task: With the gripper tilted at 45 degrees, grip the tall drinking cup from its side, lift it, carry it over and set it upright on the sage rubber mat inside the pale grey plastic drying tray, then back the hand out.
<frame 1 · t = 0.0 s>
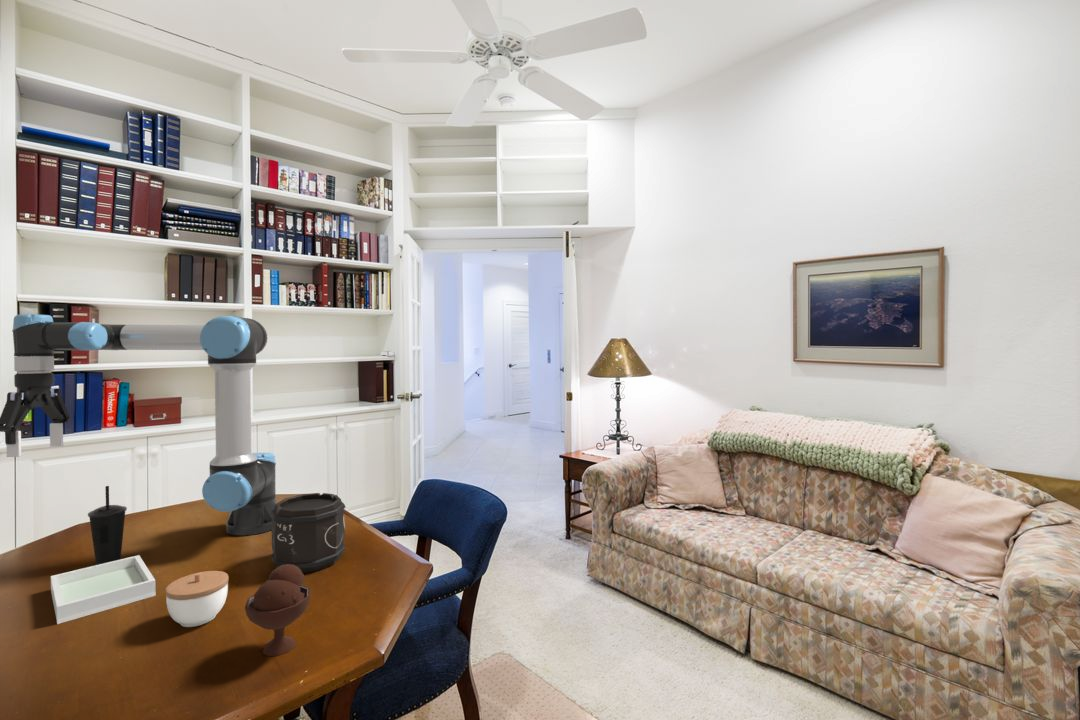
hand: (36, 451, 134), 28 cm above the table, tool pointing down, fingers open, 13 cm apart
labeled octagonal canister: (309, 560, 132), on the table
lidded jar: (198, 620, 103), on the table
ice cream bowl: (279, 648, 93), on the table
drying tray: (102, 593, 114), on the table
drinking cup: (108, 563, 130), on the table
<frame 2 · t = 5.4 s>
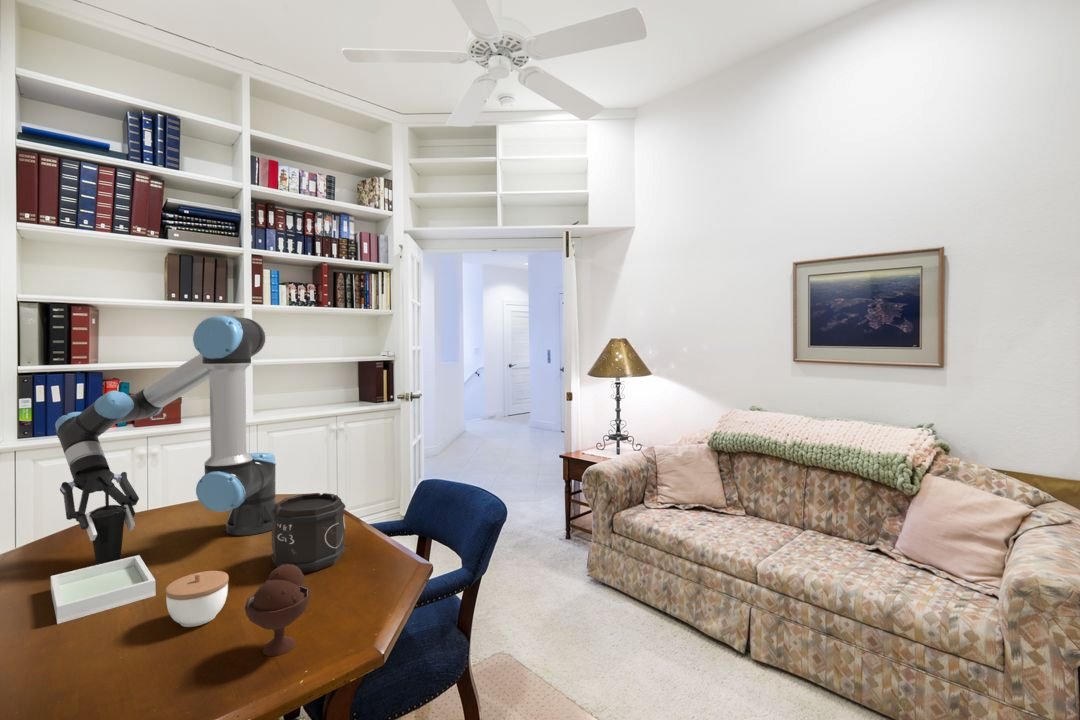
hand: (113, 532, 128), 9 cm above the table, tool tilted 45°, fingers closed on drinking cup, 7 cm apart
drinking cup: (108, 563, 130), on the table, touching gripper
everything else where it was.
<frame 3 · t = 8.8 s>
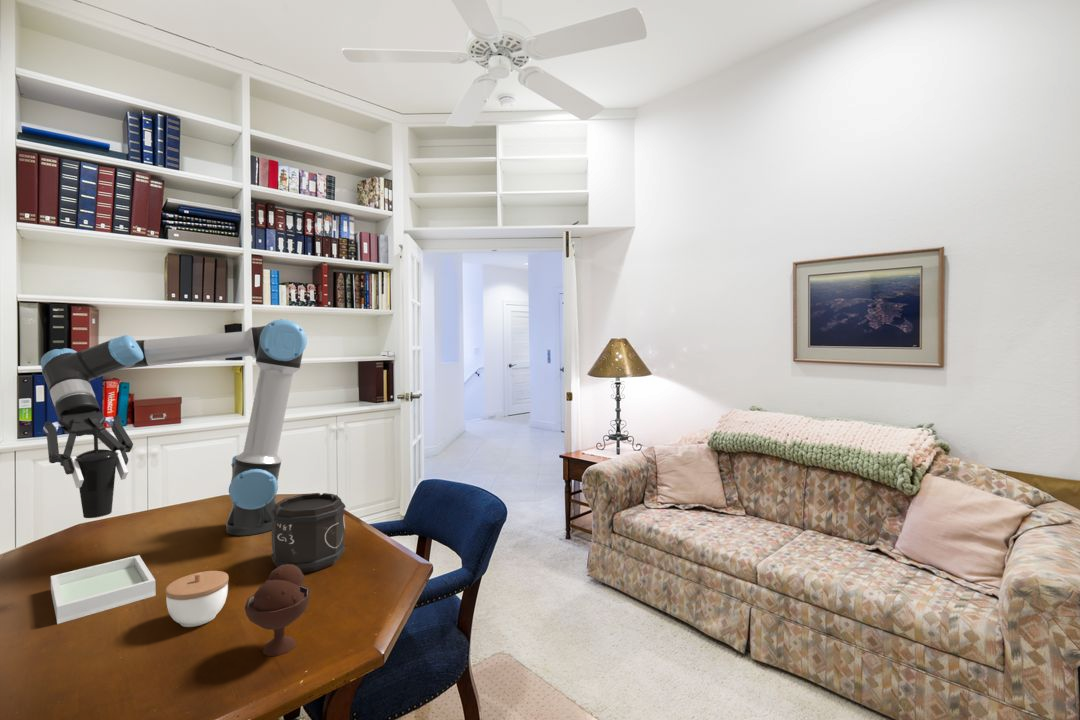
hand: (103, 479, 112), 26 cm above the table, tool tilted 45°, fingers closed on drinking cup, 7 cm apart
drinking cup: (98, 515, 114), point 18 cm above the table, touching gripper
everything else where it was.
when the fingers open (11 cm above the table, at t = 12.2 s): drinking cup drops 2 cm, resting on drying tray.
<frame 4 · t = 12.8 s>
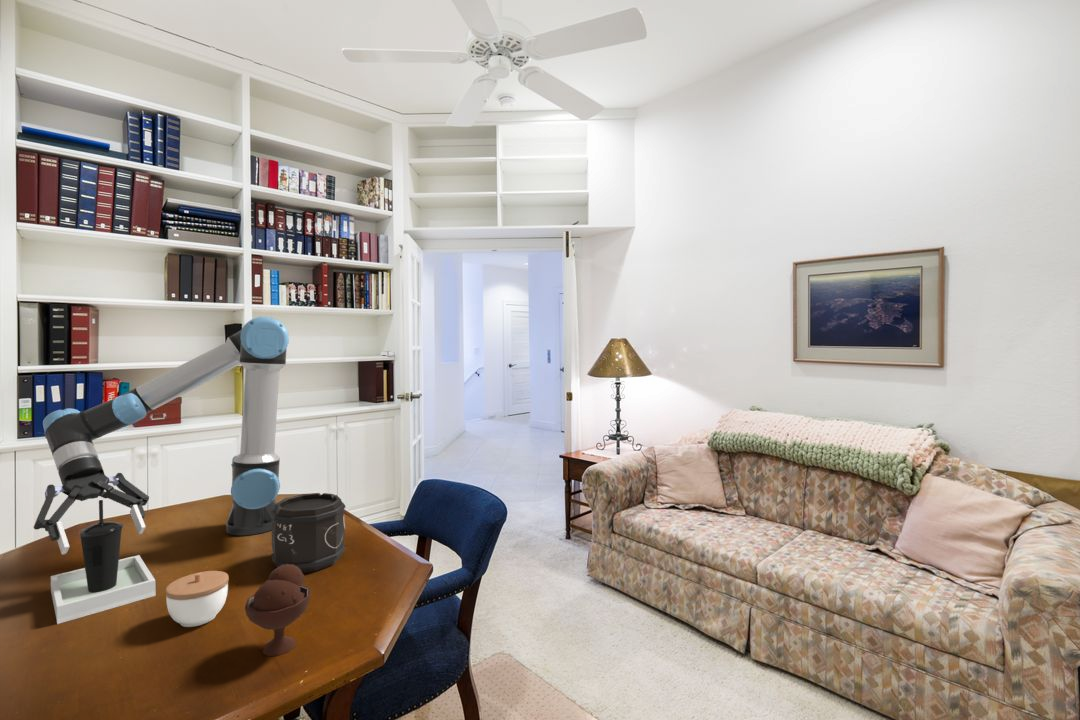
hand: (105, 540, 112), 13 cm above the table, tool tilted 45°, fingers open, 13 cm apart
drinking cup: (102, 588, 114), point 1 cm above the table, touching drying tray
everything else where it was.
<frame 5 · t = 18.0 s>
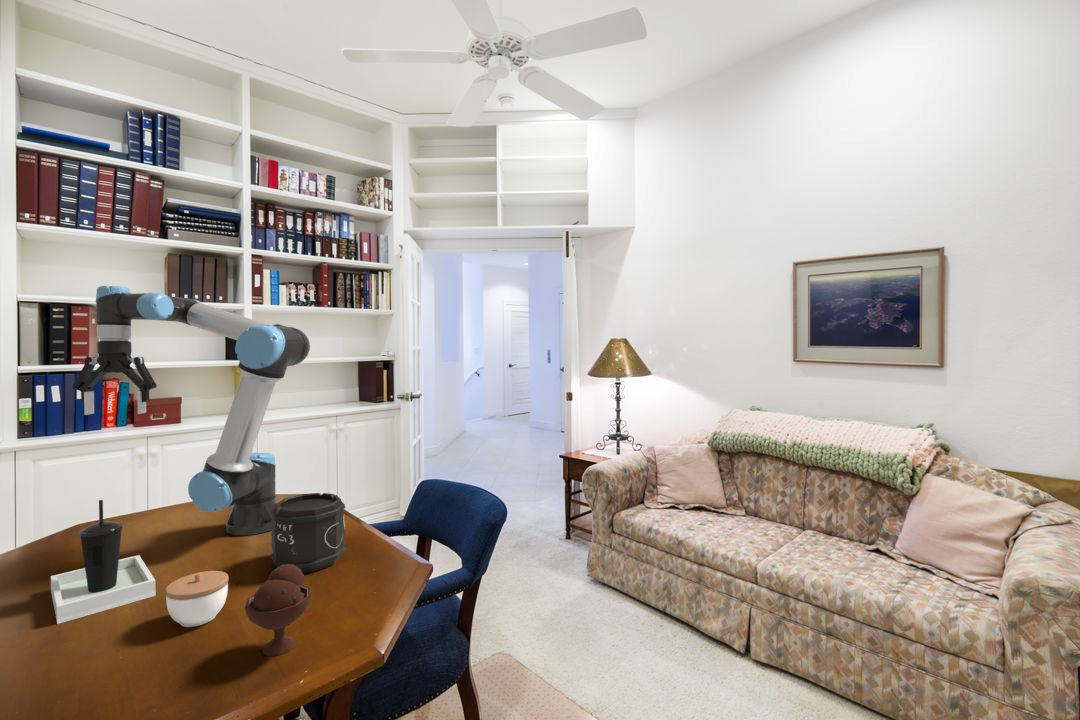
hand: (115, 413, 145), 37 cm above the table, tool pointing down, fingers open, 13 cm apart
nothing on the table moved.
at the end: drinking cup inside the target area on the drying tray (0.1 cm from its centre), point 1.1 cm above the drying tray's base; drinking cup tilted 0°; the gripper is holding nothing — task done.
